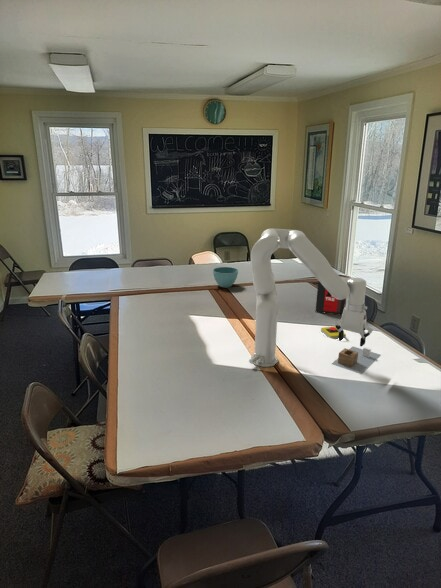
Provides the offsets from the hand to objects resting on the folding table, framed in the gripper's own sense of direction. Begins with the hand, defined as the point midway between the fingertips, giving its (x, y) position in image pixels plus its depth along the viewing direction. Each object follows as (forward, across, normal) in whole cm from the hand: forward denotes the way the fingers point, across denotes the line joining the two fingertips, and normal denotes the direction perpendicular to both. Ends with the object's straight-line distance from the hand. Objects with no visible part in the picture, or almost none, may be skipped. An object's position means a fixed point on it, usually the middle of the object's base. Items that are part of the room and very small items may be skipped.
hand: (351, 342), depth 181 cm
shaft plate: (+12, -1, -6) cm, 13 cm away
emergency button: (+12, +20, -26) cm, 35 cm away
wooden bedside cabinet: (+10, +1, 0) cm, 10 cm away
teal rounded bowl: (+10, +119, -56) cm, 132 cm away
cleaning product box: (+12, +38, -60) cm, 71 cm away
